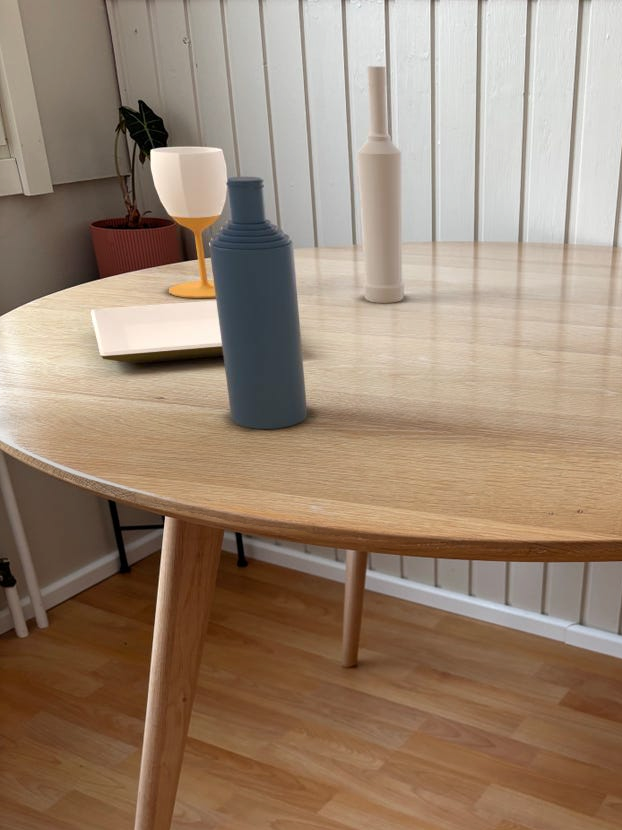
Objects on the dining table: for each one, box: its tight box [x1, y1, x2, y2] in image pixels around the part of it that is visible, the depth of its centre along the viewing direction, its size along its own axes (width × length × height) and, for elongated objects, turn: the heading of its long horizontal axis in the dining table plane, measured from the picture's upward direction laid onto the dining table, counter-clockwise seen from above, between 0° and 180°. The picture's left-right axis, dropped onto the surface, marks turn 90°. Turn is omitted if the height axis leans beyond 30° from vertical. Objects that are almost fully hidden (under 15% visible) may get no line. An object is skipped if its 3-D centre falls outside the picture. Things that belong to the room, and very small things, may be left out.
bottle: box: [356, 65, 405, 304], centre depth 111 cm, size 5×5×25 cm
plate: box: [90, 300, 223, 364], centre depth 99 cm, size 19×19×2 cm
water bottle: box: [208, 176, 308, 430], centre depth 76 cm, size 6×6×18 cm
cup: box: [150, 146, 228, 299], centre depth 116 cm, size 9×9×16 cm
